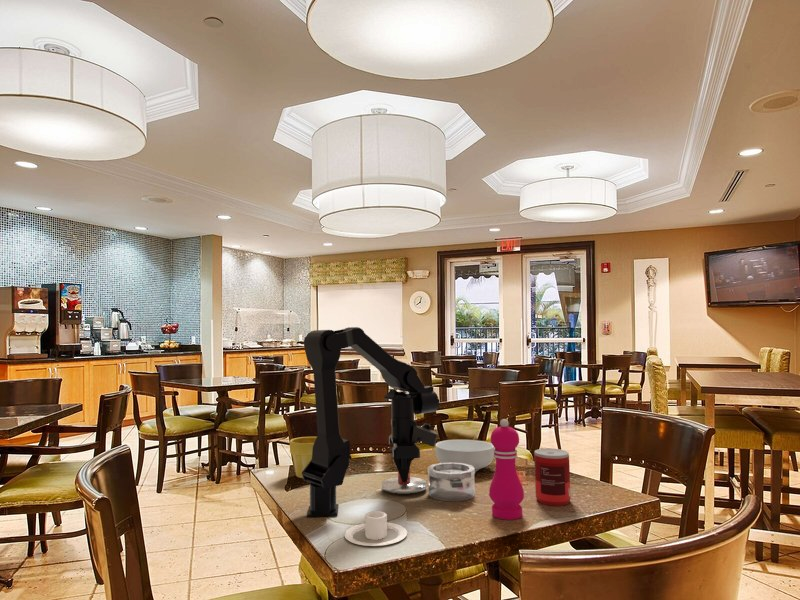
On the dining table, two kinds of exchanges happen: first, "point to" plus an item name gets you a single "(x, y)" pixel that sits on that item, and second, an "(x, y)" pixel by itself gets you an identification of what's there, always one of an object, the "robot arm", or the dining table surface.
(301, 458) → the plant pot
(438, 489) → the pot
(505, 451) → the pepper mill
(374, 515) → the candle holder
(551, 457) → the canned food
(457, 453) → the cereal bowl
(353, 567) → the dining table surface
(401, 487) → the lid
